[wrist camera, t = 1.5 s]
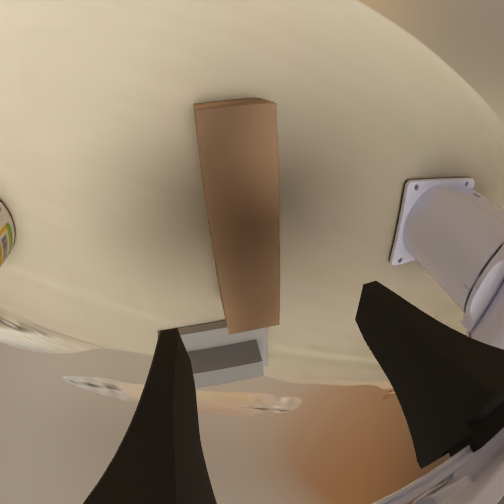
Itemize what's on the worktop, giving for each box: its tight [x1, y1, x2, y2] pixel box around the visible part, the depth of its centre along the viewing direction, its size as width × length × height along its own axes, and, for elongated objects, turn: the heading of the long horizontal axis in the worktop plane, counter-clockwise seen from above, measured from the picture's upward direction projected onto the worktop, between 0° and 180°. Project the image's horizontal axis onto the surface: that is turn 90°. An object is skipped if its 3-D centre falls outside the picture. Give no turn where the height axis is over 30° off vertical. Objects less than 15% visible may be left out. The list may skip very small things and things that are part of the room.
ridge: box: [158, 320, 268, 388], centre depth 24 cm, size 9×7×3 cm
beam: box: [194, 98, 280, 335], centre depth 17 cm, size 4×14×4 cm, turn 3°
